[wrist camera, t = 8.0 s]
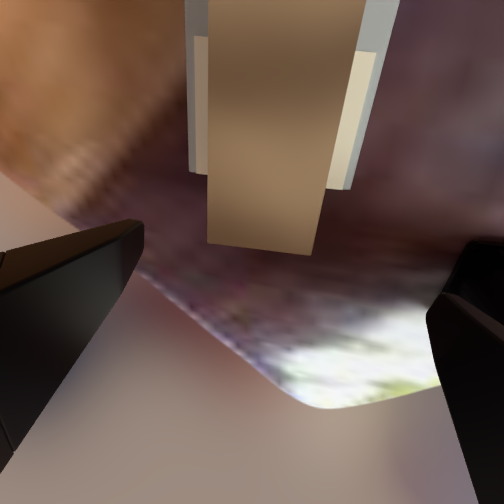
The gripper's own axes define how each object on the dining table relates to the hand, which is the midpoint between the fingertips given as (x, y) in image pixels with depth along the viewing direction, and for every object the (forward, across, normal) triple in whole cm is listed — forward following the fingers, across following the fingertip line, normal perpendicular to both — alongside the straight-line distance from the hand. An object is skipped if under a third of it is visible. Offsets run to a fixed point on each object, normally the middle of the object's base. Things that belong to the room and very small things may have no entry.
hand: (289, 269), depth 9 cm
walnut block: (+11, +2, -4) cm, 12 cm away
